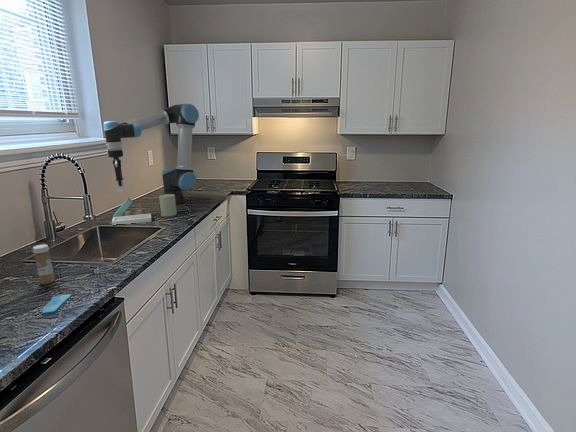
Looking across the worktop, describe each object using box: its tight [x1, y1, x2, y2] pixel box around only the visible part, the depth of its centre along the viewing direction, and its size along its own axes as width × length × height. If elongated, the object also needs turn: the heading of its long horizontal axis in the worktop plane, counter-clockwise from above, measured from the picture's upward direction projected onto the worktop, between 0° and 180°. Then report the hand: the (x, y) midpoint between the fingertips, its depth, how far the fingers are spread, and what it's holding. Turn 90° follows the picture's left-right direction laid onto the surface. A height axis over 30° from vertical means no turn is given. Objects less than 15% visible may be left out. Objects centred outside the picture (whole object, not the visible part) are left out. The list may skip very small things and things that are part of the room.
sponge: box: [41, 293, 72, 316], centre depth 115 cm, size 2×12×6 cm
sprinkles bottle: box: [32, 244, 56, 285], centre depth 130 cm, size 5×5×14 cm
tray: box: [111, 213, 152, 226], centre depth 208 cm, size 20×10×2 cm, turn 110°
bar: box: [112, 197, 133, 218], centre depth 214 cm, size 13×5×3 cm
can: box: [158, 194, 178, 217], centre depth 220 cm, size 9×9×12 cm
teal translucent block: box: [124, 203, 143, 216], centre depth 216 cm, size 9×4×8 cm, turn 110°
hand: (121, 191), depth 212 cm, fingers closed
